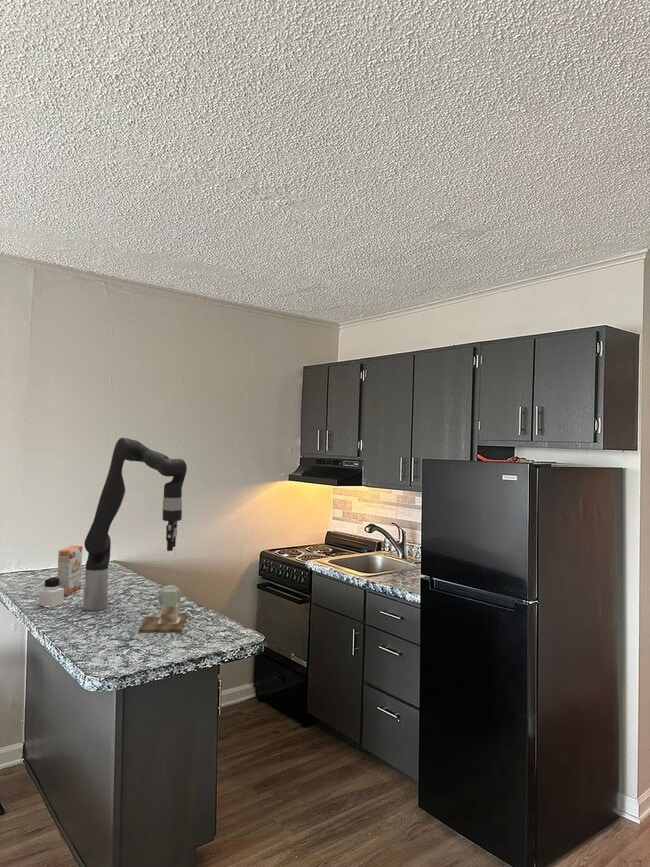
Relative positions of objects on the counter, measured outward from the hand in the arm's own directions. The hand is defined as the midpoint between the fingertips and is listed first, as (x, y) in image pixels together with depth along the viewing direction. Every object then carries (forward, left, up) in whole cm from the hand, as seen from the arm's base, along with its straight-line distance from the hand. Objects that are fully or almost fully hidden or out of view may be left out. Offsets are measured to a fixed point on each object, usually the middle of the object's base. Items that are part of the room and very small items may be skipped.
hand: (171, 548), depth 247 cm
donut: (-3, +23, -30) cm, 38 cm away
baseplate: (-2, 0, -30) cm, 30 cm away
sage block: (0, 0, -23) cm, 23 cm away
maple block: (0, 0, -29) cm, 29 cm away
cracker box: (-53, +51, -30) cm, 80 cm away
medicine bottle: (-54, +28, -30) cm, 68 cm away
